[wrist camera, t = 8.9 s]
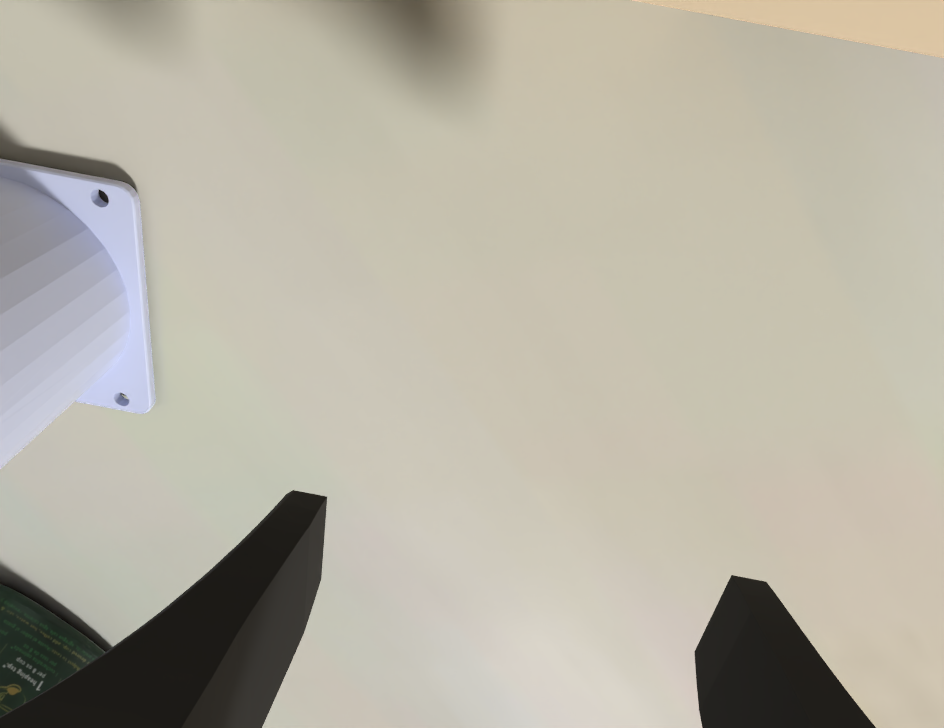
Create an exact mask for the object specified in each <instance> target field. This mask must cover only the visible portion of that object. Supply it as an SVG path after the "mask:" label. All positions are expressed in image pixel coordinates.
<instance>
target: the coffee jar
mask: <svg viewBox="0 0 944 728" xmlns="http://www.w3.org/2000/svg"><path fill="white" fill-rule="evenodd" d="M104 653H105V651H104V650H102V649H101V648H100V647H98V646H97V645H96V644H95V643H94V642H93V641H91V640H90V639H88V638H87V637H86V636H85V635H83V634H82V633H80V632H79V631H78V630H76V629H75V628H73V627H72V626H70V625H69V624H67V623H66V622H65V621H63V620H62V619H60V618H59V617H58V616H56V615H55V614H53V613H52V612H50V611H49V610H47V609H45V608H44V607H42V606H41V605H39V604H38V603H36V602H34V601H33V600H31V599H29V598H27V597H26V596H24V595H23V594H21V593H19V592H17V591H15V590H13V589H11V588H9V587H7V586H4V585H1V584H0V716H2V715H4V714H6V713H8V712H9V711H11V710H13V709H15V708H16V707H18V706H20V705H22V704H23V703H25V702H27V701H29V700H31V699H32V698H34V697H36V696H38V695H39V694H41V693H43V692H44V691H46V690H48V689H49V688H51V687H53V686H54V685H56V684H57V683H59V682H61V681H62V680H64V679H65V678H67V677H69V676H70V675H72V674H73V673H75V672H76V671H78V670H79V669H81V668H82V667H84V666H85V665H87V664H88V663H90V662H91V661H93V660H94V659H96V658H98V657H99V656H101V655H102V654H104Z"/></svg>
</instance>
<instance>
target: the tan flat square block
mask: <svg viewBox="0 0 944 728" xmlns="http://www.w3.org/2000/svg"><path fill="white" fill-rule="evenodd" d="M633 1H638V2H644V3H649V4H655V5H660V6H665V7H671V8H676V9H682V10H687V11H692V12H698V13H703V14H709V15H714V16H719V17H725V18H730V19H736V20H741V21H746V22H752V23H757V24H763V25H768V26H774V27H779V28H784V29H790V30H795V31H801V32H806V33H811V34H817V35H822V36H828V37H833V38H838V39H844V40H849V41H855V42H860V43H865V44H871V45H876V46H882V47H887V48H893V49H898V50H903V51H909V52H914V53H920V54H925V55H930V56H936V57H941V58H944V0H633Z"/></svg>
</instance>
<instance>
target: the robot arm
mask: <svg viewBox="0 0 944 728" xmlns="http://www.w3.org/2000/svg"><path fill="white" fill-rule="evenodd" d="M99 190H101V191H104V192H105V194H106V195H107V196H108V199H109V203H106V202H104V201H103V200H102V199H101V198H100V196H99V193H98V192H99ZM121 393H123V394H125V395H126V396H127V397H128V399H129V400H128V399H125V398H124V397H123V396H122V395H121ZM155 400H156V398H155V386H154V373H153V360H152V348H151V335H150V322H149V310H148V297H147V285H146V272H145V259H144V247H143V234H142V222H141V209H140V200H139V196H138V194H137V192H136V191H135V189H134V188H133V187H131V186H130V185H129V184H127V183H125V182H122V181H117V180H112V179H106V178H101V177H96V176H91V175H85V174H80V173H75V172H69V171H64V170H59V169H54V168H48V167H43V166H38V165H32V164H27V163H22V162H17V161H11V160H6V159H1V158H0V469H1V468H2V467H4V466H5V465H6V464H7V463H8V462H9V461H10V460H11V459H12V458H13V457H14V456H16V455H17V454H18V453H19V452H20V451H21V450H22V449H23V448H24V447H25V446H26V445H28V444H29V443H30V442H31V441H32V440H33V439H34V438H35V437H36V436H37V435H38V434H40V433H41V432H42V431H43V430H44V429H45V428H46V427H47V426H48V425H49V424H50V423H52V422H53V421H54V420H55V419H56V418H57V417H58V416H59V415H60V414H61V413H62V412H64V411H65V410H66V409H67V408H68V407H69V406H70V405H71V404H72V403H73V402H74V401H76V402H81V403H86V404H91V405H96V406H102V407H107V408H112V409H117V410H122V411H127V412H133V413H138V414H144V413H146V412H148V411H149V410H150V409H151V408H152V407H153V406H154V404H155ZM326 504H327V497H325V496H320V495H315V494H310V493H305V492H299V491H294V490H293V491H291V492H289V493H288V494H286V495H285V496H284V498H283V499H282V500H281V501H280V502H279V503H278V504H277V505H276V506H275V507H274V509H273V510H272V511H271V512H270V513H269V514H268V515H267V516H266V517H265V518H264V519H263V520H262V521H261V522H260V523H259V524H258V525H257V526H256V527H255V528H254V529H253V530H252V531H251V532H250V533H249V534H248V535H247V536H246V537H245V538H244V539H243V540H242V541H241V542H240V543H239V544H238V545H237V546H236V547H235V548H234V549H233V550H231V551H230V552H229V553H228V554H227V555H226V556H225V557H224V558H223V559H222V560H221V561H220V562H219V563H218V564H216V565H215V566H214V567H213V568H212V569H211V570H210V571H209V572H208V573H207V574H205V575H204V576H203V577H202V578H201V579H200V580H198V581H197V582H196V583H195V584H194V585H192V586H191V587H190V588H189V589H188V590H186V591H185V592H184V593H183V594H182V595H180V596H179V597H178V598H177V599H176V600H175V601H173V602H172V603H171V604H170V605H169V606H167V607H166V608H165V609H164V610H162V611H161V612H160V613H158V614H157V615H156V616H155V617H153V618H152V619H151V620H149V621H148V622H147V623H145V624H144V625H143V626H141V627H140V628H139V629H137V630H136V631H135V632H133V633H132V634H131V635H129V636H128V637H126V638H125V639H124V640H122V641H121V642H119V643H118V644H117V645H115V646H114V647H112V648H111V649H110V650H108V651H107V652H105V653H104V654H102V655H101V656H99V657H98V658H96V659H94V660H93V661H91V662H90V663H88V664H87V665H85V666H84V667H82V668H81V669H79V670H78V671H76V672H75V673H73V674H72V675H70V676H69V677H67V678H65V679H64V680H62V681H61V682H59V683H57V684H56V685H54V686H53V687H51V688H49V689H48V690H46V691H44V692H43V693H41V694H39V695H38V696H36V697H34V698H32V699H31V700H29V701H27V702H25V703H23V704H22V705H20V706H18V707H16V708H15V709H13V710H11V711H9V712H8V713H6V714H4V715H2V716H0V728H262V726H263V724H264V722H265V719H266V717H267V715H268V713H269V710H270V708H271V706H272V704H273V701H274V699H275V697H276V695H277V692H278V690H279V688H280V686H281V684H282V681H283V679H284V677H285V675H286V672H287V670H288V668H289V666H290V663H291V661H292V659H293V656H294V654H295V652H296V650H297V647H298V645H299V643H300V641H301V638H302V636H303V634H304V631H305V628H306V625H307V622H308V619H309V615H310V612H311V609H312V606H313V603H314V600H315V597H316V593H317V590H318V587H319V584H320V581H321V573H322V559H323V545H324V531H325V518H326ZM695 664H696V679H697V691H698V701H699V711H700V716H701V721H702V727H703V728H876V727H875V726H874V725H873V724H872V722H871V721H870V720H869V719H868V717H867V716H866V715H865V714H864V712H863V711H862V710H861V709H860V707H859V706H858V705H857V704H856V702H855V701H854V700H853V699H852V697H851V696H850V695H849V693H848V692H847V691H846V689H845V688H844V687H843V686H842V684H841V683H840V682H839V680H838V679H837V678H836V676H835V675H834V674H833V672H832V671H831V670H830V668H829V667H828V666H827V664H826V663H825V662H824V660H823V659H822V658H821V656H820V655H819V654H818V652H817V651H816V649H815V648H814V647H813V645H812V644H811V643H810V641H809V640H808V638H807V637H806V636H805V634H804V633H803V632H802V630H801V629H800V627H799V626H798V625H797V623H796V622H795V620H794V619H793V618H792V616H791V615H790V613H789V612H788V611H787V609H786V608H785V607H784V605H783V604H782V602H781V601H780V600H779V598H778V597H777V596H776V594H775V593H774V592H773V590H772V589H771V588H770V586H769V585H768V584H767V582H764V581H759V580H754V579H748V578H743V577H738V576H733V575H732V576H731V578H730V580H729V582H728V584H727V586H726V588H725V590H724V592H723V594H722V596H721V598H720V600H719V602H718V605H717V607H716V609H715V611H714V613H713V615H712V617H711V619H710V621H709V623H708V625H707V627H706V629H705V631H704V634H703V636H702V638H701V640H700V642H699V644H698V646H697V648H696V650H695Z"/></svg>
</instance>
